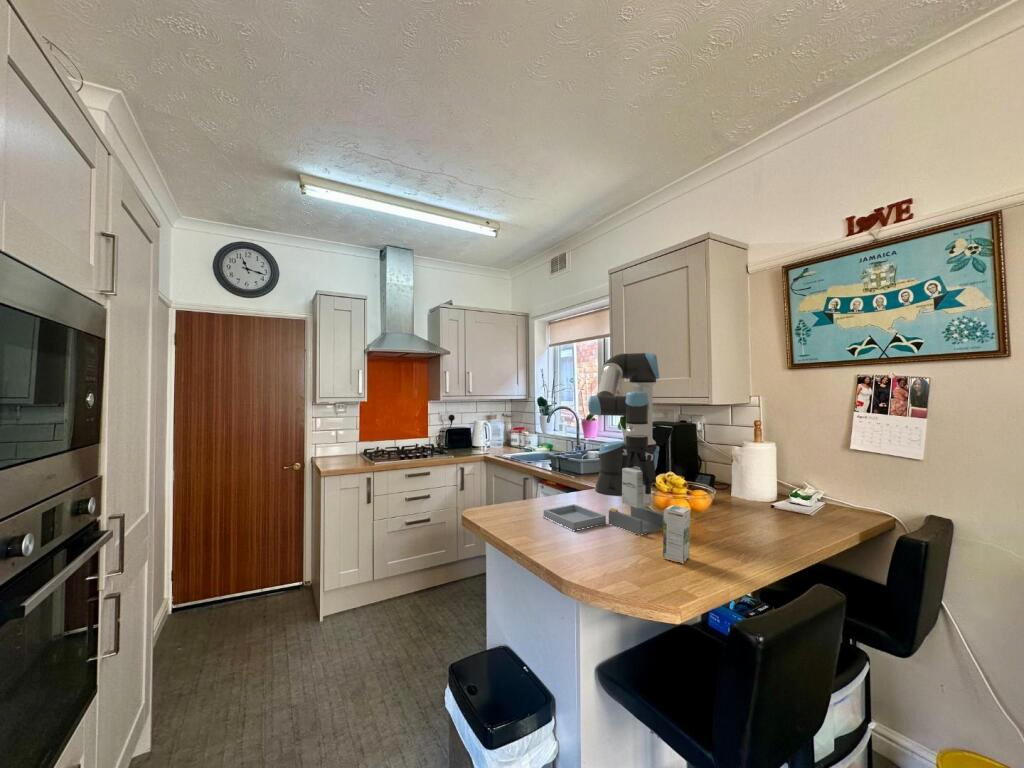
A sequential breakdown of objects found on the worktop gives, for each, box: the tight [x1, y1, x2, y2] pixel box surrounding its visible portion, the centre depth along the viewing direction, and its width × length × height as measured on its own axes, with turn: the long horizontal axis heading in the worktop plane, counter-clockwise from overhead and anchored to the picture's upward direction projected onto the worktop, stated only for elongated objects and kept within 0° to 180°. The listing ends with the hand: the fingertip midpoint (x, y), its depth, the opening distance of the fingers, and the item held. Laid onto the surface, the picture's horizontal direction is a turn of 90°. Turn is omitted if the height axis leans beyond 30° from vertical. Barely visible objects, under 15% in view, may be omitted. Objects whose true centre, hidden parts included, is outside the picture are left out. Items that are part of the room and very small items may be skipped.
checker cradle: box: [608, 506, 664, 535], centre depth 146 cm, size 13×14×6 cm
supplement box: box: [621, 467, 652, 508], centre depth 147 cm, size 7×7×13 cm
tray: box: [543, 503, 607, 530], centre depth 152 cm, size 15×17×3 cm
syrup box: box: [662, 505, 691, 562], centre depth 119 cm, size 6×6×14 cm
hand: (636, 499), depth 147 cm, fingers closed on supplement box, 7 cm apart
